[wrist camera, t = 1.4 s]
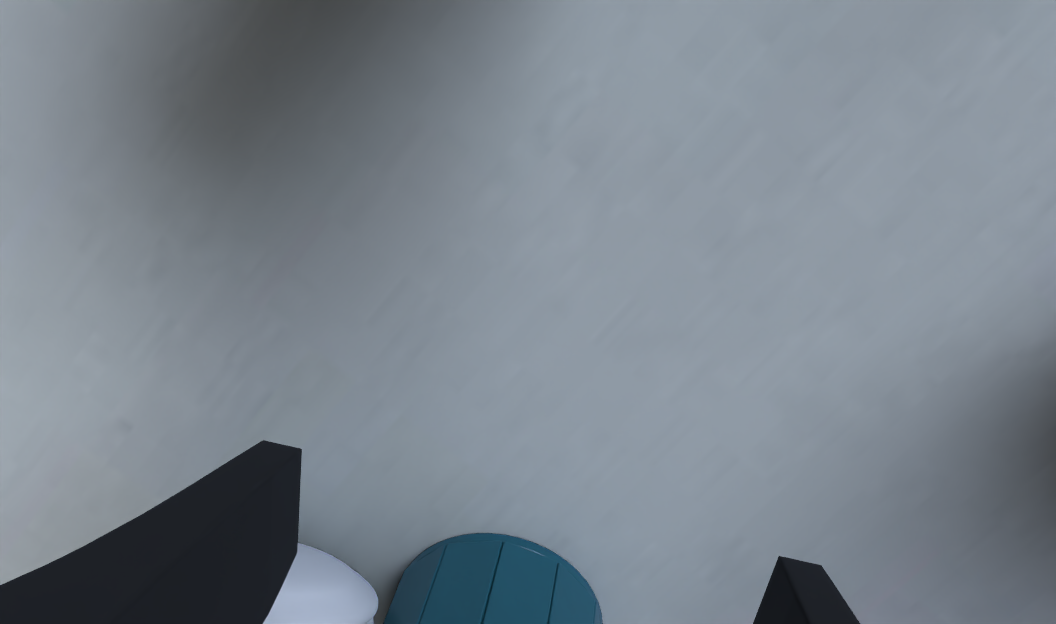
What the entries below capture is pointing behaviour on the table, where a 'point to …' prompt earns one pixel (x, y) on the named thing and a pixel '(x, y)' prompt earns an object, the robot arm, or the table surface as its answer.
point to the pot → (492, 585)
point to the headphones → (323, 592)
